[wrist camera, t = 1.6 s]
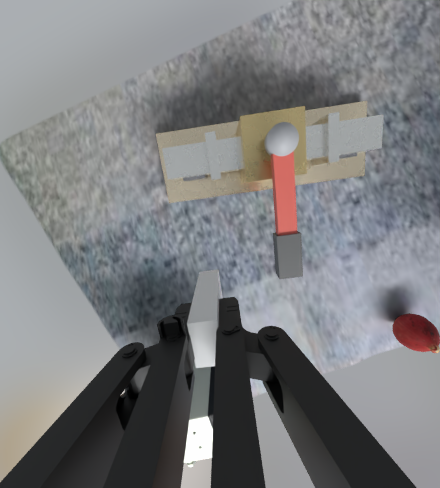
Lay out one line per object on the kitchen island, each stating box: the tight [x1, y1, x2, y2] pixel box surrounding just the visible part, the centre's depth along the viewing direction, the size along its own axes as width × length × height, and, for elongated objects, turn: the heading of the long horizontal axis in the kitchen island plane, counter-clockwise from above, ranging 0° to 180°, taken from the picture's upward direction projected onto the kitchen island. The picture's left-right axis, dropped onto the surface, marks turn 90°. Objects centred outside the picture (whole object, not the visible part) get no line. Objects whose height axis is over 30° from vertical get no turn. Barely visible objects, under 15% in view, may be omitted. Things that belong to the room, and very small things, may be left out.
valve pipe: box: [156, 101, 383, 203], centre depth 28 cm, size 30×10×11 cm, turn 98°
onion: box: [393, 313, 440, 353], centre depth 37 cm, size 6×6×8 cm
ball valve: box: [121, 361, 215, 467], centre depth 35 cm, size 18×8×18 cm, turn 106°
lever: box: [264, 122, 303, 279], centre depth 23 cm, size 16×3×2 cm, turn 8°
